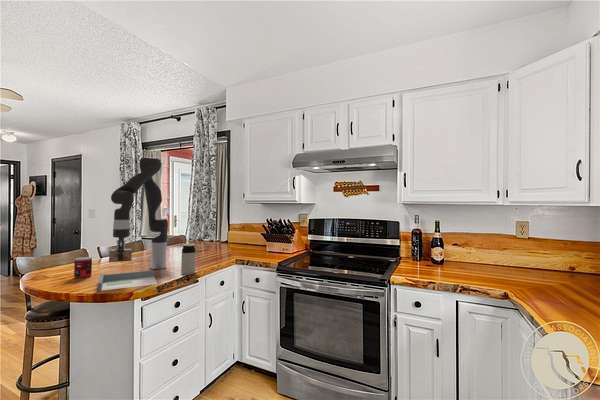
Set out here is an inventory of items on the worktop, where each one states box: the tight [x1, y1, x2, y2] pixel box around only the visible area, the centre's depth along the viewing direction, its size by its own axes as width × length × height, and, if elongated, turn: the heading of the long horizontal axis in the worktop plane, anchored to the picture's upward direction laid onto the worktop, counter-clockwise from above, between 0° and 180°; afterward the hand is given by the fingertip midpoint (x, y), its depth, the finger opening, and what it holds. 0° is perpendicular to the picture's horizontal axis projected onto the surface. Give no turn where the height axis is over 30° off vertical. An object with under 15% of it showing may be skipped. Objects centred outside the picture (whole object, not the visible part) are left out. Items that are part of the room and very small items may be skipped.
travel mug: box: [180, 243, 196, 276], centre depth 177 cm, size 8×8×18 cm
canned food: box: [73, 256, 93, 280], centre depth 163 cm, size 8×8×11 cm
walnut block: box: [108, 248, 133, 263], centre depth 152 cm, size 10×5×6 cm, turn 122°
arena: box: [97, 269, 158, 292], centre depth 152 cm, size 20×26×4 cm
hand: (120, 259), depth 152 cm, fingers closed on walnut block, 5 cm apart
